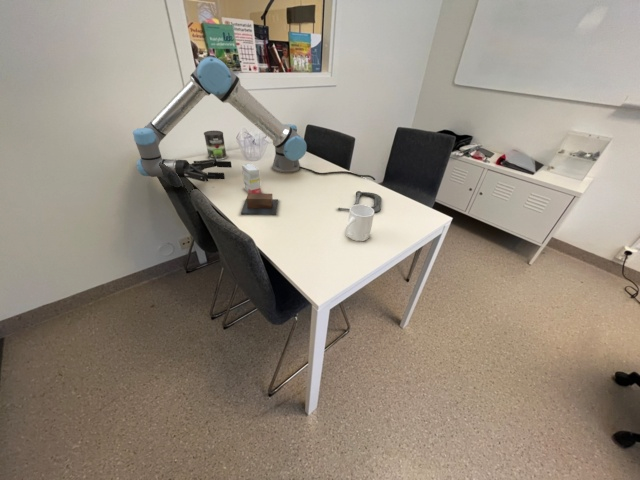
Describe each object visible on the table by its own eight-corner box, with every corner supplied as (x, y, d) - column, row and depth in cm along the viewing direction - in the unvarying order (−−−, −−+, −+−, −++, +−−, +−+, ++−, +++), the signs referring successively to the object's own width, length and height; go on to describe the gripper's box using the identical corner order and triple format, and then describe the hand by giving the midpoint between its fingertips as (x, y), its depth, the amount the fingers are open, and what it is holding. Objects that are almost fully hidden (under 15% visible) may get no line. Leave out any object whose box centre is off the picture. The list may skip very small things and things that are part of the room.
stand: (278, 201, 116) (277, 189, 113) (276, 215, 107) (275, 203, 103) (246, 200, 115) (244, 189, 112) (241, 214, 105) (239, 202, 102)
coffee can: (228, 159, 155) (224, 134, 147) (210, 161, 151) (205, 135, 143) (225, 153, 162) (221, 129, 154) (207, 155, 158) (202, 131, 150)
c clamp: (378, 218, 109) (379, 212, 107) (337, 210, 113) (338, 204, 111) (384, 198, 124) (385, 192, 123) (348, 191, 128) (349, 186, 127)
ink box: (261, 193, 121) (259, 169, 114) (251, 196, 119) (248, 171, 112) (254, 186, 127) (251, 162, 120) (244, 188, 125) (241, 164, 118)
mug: (335, 237, 96) (338, 212, 90) (356, 226, 103) (360, 202, 97) (353, 248, 91) (357, 222, 85) (374, 236, 98) (379, 211, 92)
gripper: (189, 166, 127) (234, 167, 128) (169, 188, 107) (222, 190, 108) (185, 150, 122) (232, 152, 124) (163, 171, 102) (219, 172, 104)
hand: (227, 170), depth 116 cm, fingers open, 13 cm apart
